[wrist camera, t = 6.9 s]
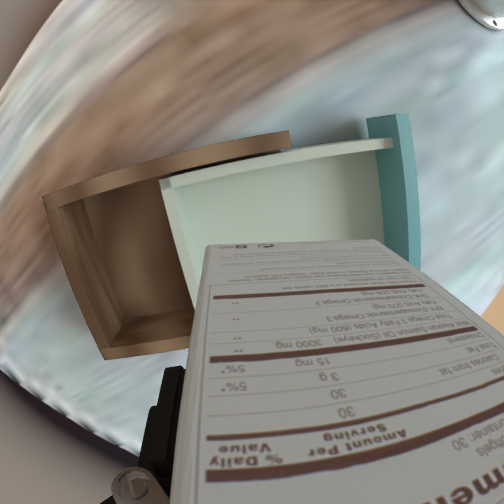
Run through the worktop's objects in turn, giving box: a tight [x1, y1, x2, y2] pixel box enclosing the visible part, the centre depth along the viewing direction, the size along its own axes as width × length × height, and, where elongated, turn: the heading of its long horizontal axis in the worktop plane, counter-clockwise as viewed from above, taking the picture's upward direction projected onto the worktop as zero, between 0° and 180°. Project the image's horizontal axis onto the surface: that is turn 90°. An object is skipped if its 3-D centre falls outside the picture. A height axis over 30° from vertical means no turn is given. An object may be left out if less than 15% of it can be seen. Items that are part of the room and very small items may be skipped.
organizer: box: [42, 130, 292, 360], centre depth 26 cm, size 19×15×6 cm
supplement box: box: [170, 239, 504, 504], centre depth 8 cm, size 7×7×13 cm
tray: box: [159, 114, 420, 309], centre depth 25 cm, size 19×16×5 cm
